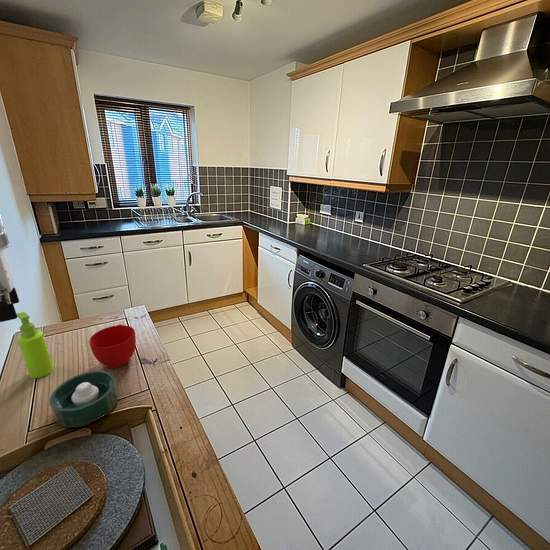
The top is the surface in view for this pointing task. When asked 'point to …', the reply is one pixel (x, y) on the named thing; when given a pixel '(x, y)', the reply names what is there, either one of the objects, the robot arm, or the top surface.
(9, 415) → the top surface
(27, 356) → the soap dispenser
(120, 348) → the red bowl
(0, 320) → the robot arm
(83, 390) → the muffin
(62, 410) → the dark green pet bowl
